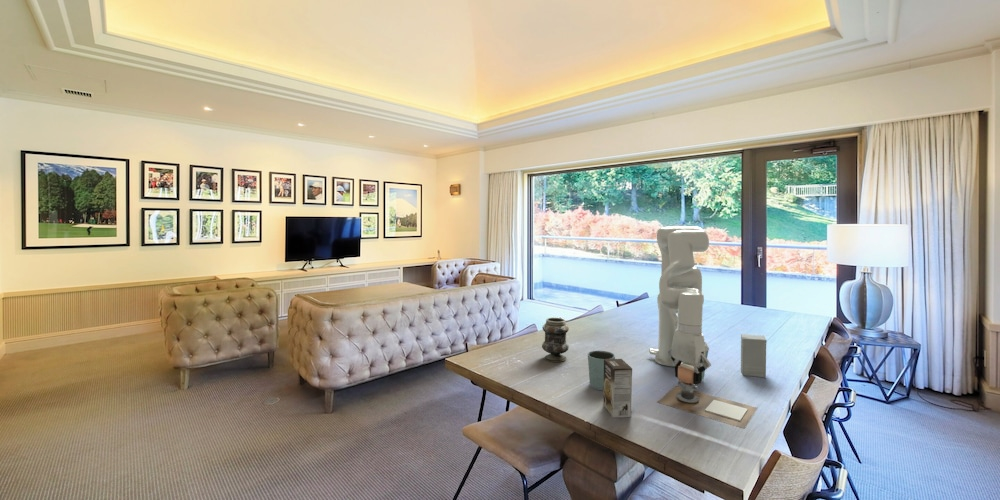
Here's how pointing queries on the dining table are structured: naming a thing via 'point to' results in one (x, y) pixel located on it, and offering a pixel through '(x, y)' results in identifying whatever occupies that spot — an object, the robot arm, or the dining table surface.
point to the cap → (686, 373)
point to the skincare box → (753, 355)
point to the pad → (726, 410)
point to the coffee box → (617, 387)
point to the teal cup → (597, 368)
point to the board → (703, 404)
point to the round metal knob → (687, 393)
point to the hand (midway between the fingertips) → (687, 379)
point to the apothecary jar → (555, 339)
